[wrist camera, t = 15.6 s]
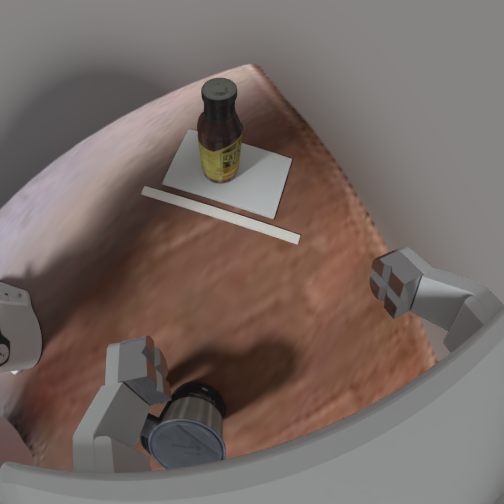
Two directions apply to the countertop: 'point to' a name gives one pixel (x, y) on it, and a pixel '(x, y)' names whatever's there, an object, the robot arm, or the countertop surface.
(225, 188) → the mat
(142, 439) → the milk frother
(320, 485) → the robot arm
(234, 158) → the sauce bottle
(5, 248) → the countertop surface
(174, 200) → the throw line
